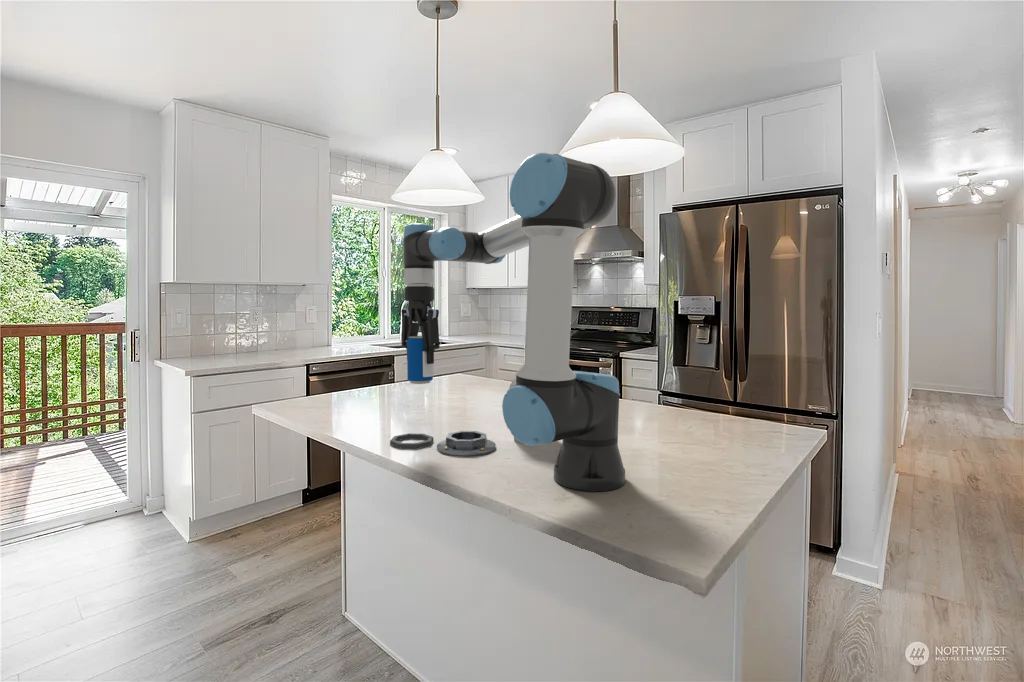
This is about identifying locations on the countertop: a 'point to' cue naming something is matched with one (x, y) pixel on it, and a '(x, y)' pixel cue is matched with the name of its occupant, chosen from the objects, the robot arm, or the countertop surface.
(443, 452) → the hub socket
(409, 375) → the beverage can
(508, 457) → the countertop surface
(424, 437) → the stand ring
